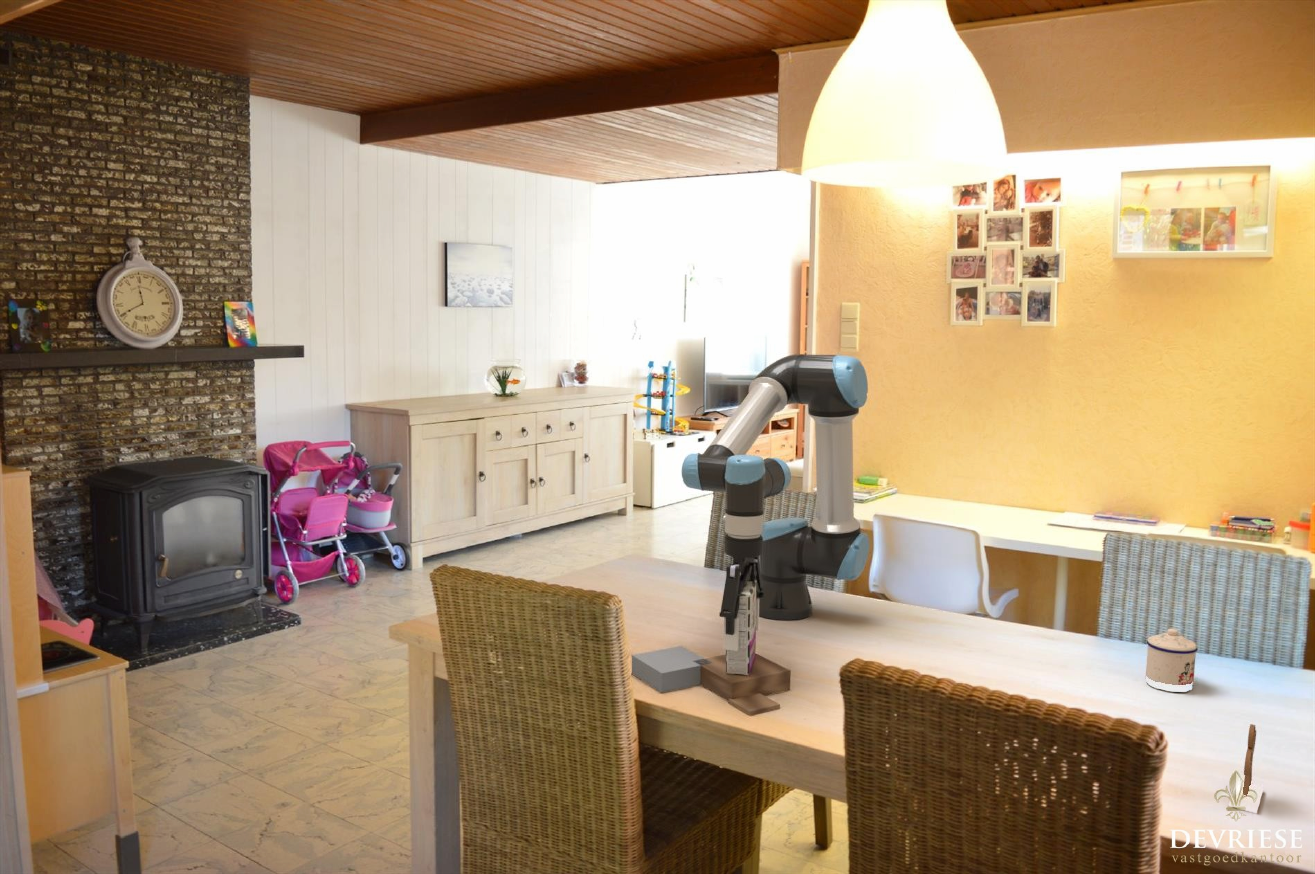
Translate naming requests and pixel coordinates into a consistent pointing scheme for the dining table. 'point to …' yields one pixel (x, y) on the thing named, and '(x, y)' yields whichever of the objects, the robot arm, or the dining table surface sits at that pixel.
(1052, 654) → the dining table surface
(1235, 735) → the dining table surface
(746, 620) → the candy bar box
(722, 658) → the walnut block
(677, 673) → the slate grey block
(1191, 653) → the teacup with lid
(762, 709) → the tile
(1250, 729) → the gingerbread man figurine
